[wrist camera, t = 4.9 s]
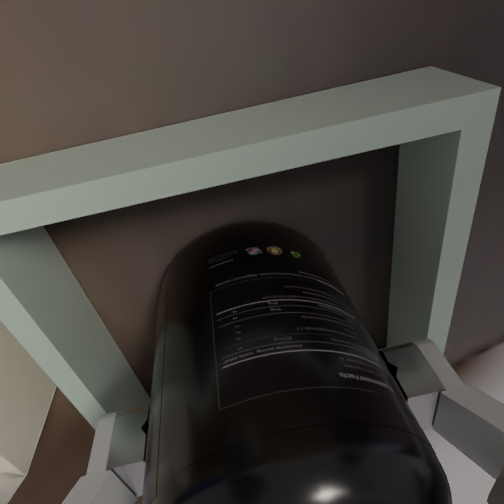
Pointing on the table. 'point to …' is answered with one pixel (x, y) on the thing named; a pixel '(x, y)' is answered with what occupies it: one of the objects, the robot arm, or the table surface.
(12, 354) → the bowl
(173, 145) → the tray
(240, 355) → the supplement bottle
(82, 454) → the table surface
